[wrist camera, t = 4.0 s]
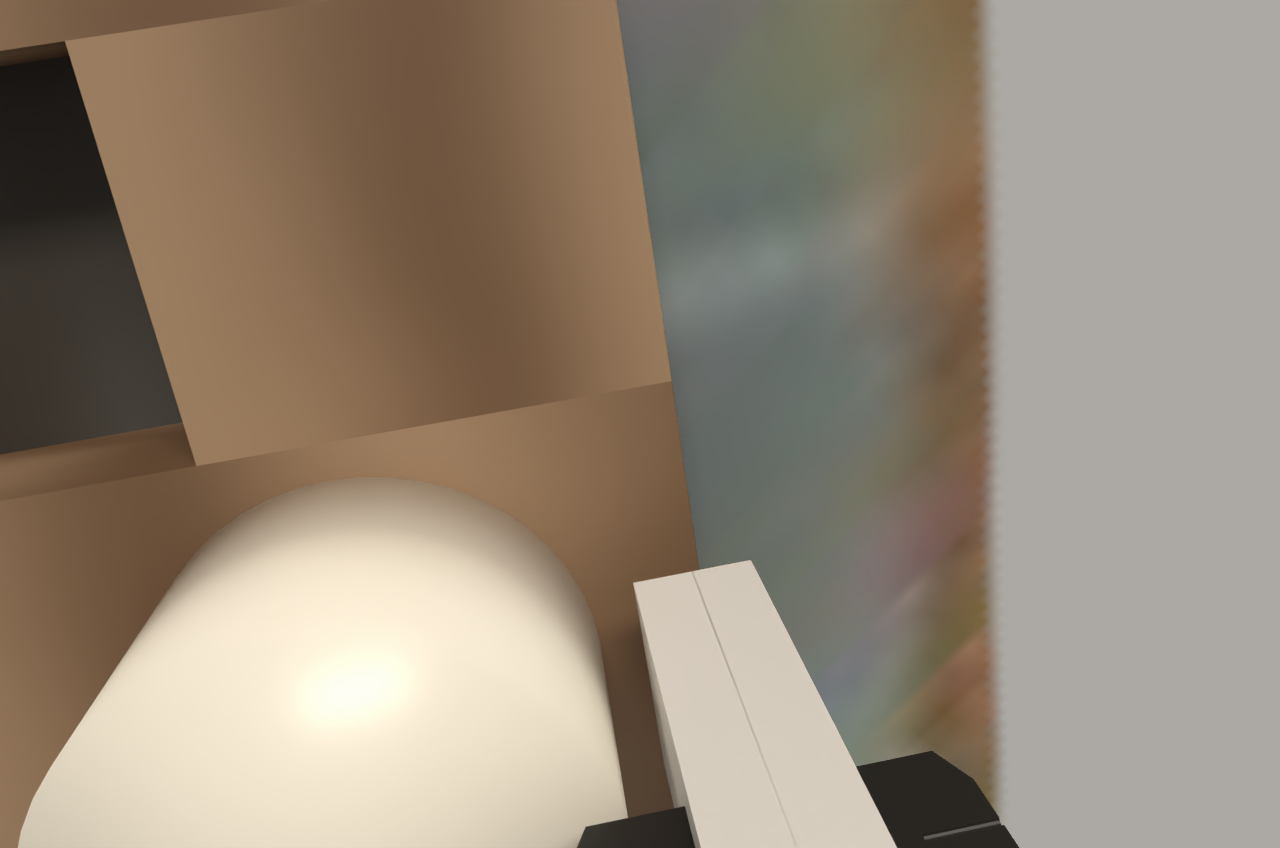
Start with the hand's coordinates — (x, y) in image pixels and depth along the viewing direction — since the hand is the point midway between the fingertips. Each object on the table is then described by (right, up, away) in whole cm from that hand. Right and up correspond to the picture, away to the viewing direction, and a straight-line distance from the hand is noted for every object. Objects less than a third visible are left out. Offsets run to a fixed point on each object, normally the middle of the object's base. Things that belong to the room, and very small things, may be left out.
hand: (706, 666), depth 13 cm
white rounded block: (-4, 0, +1) cm, 4 cm away
